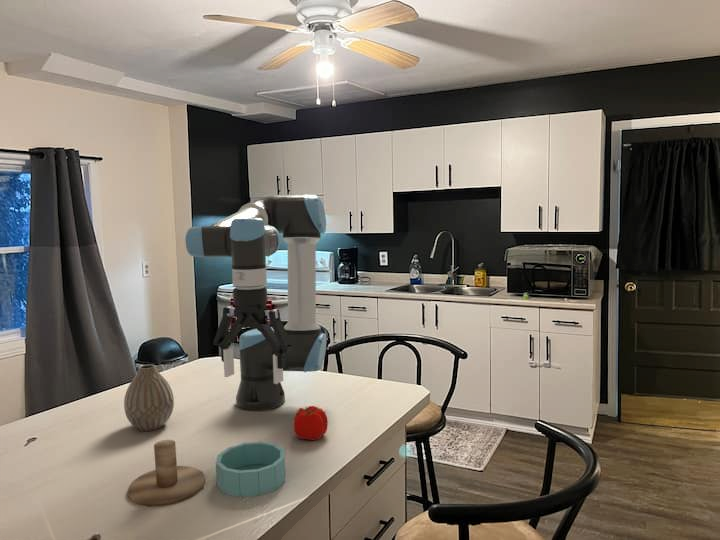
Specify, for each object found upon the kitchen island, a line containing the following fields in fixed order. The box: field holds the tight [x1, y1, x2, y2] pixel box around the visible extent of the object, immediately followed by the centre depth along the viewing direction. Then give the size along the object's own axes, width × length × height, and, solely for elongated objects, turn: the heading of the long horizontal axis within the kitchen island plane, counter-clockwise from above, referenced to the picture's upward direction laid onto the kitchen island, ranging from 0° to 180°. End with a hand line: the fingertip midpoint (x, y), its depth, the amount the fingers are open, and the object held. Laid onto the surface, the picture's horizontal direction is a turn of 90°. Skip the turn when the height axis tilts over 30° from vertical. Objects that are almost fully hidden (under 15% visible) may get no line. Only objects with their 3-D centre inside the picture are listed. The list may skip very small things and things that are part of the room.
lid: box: [127, 439, 206, 507], centre depth 122 cm, size 16×16×10 cm
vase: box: [123, 363, 175, 432], centre depth 157 cm, size 13×13×18 cm
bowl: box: [215, 441, 287, 498], centre depth 125 cm, size 15×15×6 cm
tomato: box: [293, 405, 329, 441], centre depth 148 cm, size 9×9×8 cm
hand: (253, 378), depth 128 cm, fingers open, 13 cm apart
